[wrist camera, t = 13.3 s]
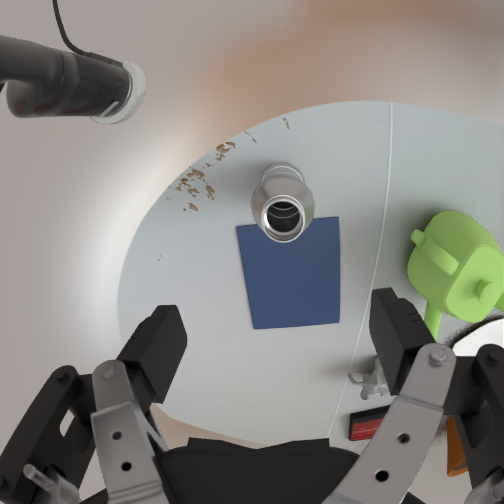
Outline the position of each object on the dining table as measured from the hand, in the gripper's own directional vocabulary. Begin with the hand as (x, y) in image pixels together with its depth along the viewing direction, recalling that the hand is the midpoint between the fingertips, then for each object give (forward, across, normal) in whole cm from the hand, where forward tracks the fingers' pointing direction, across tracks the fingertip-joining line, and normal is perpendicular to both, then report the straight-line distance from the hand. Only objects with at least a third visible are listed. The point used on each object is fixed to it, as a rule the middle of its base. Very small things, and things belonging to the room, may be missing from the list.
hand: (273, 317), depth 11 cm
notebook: (+33, -24, +65) cm, 77 cm away
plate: (+33, -47, +44) cm, 72 cm away
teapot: (+33, -28, +17) cm, 47 cm away
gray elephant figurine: (+33, -16, +40) cm, 54 cm away
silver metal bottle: (+33, 0, 0) cm, 33 cm away
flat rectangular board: (+33, 0, +16) cm, 36 cm away
